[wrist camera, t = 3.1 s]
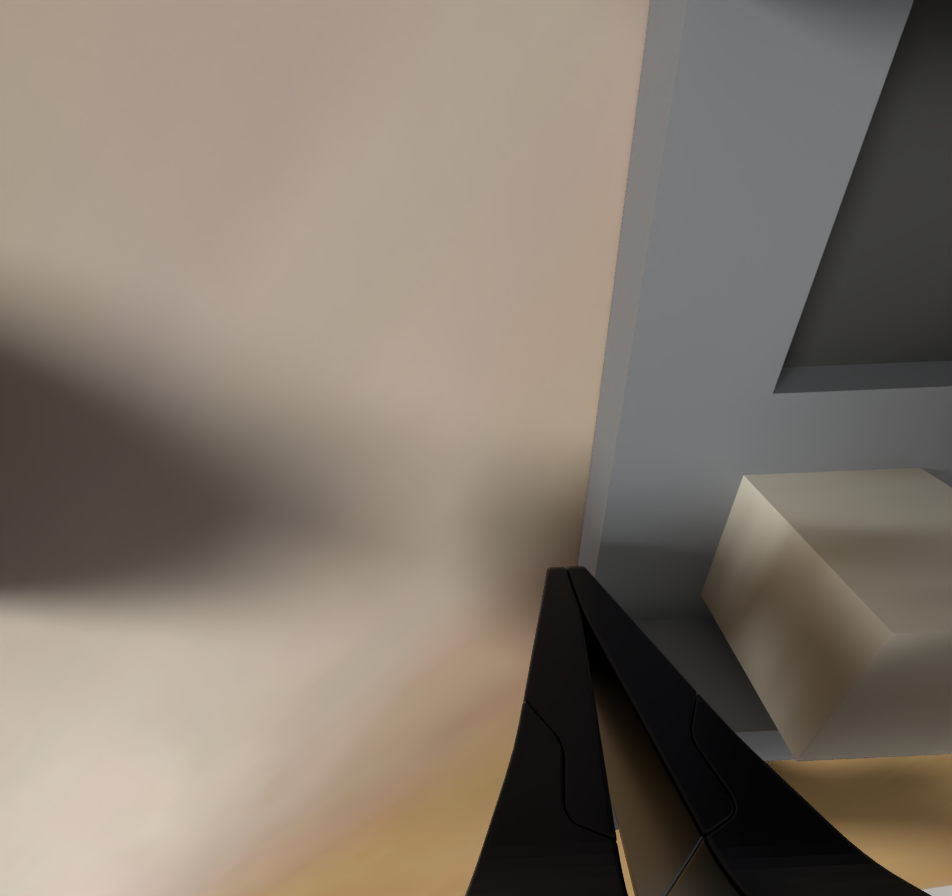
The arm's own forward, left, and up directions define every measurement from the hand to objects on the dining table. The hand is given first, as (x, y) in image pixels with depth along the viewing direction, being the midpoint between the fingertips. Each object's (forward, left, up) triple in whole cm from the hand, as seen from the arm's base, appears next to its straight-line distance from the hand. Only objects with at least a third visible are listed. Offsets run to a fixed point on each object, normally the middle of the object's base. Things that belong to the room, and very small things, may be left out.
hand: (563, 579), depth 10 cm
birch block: (0, -6, -1) cm, 6 cm away
